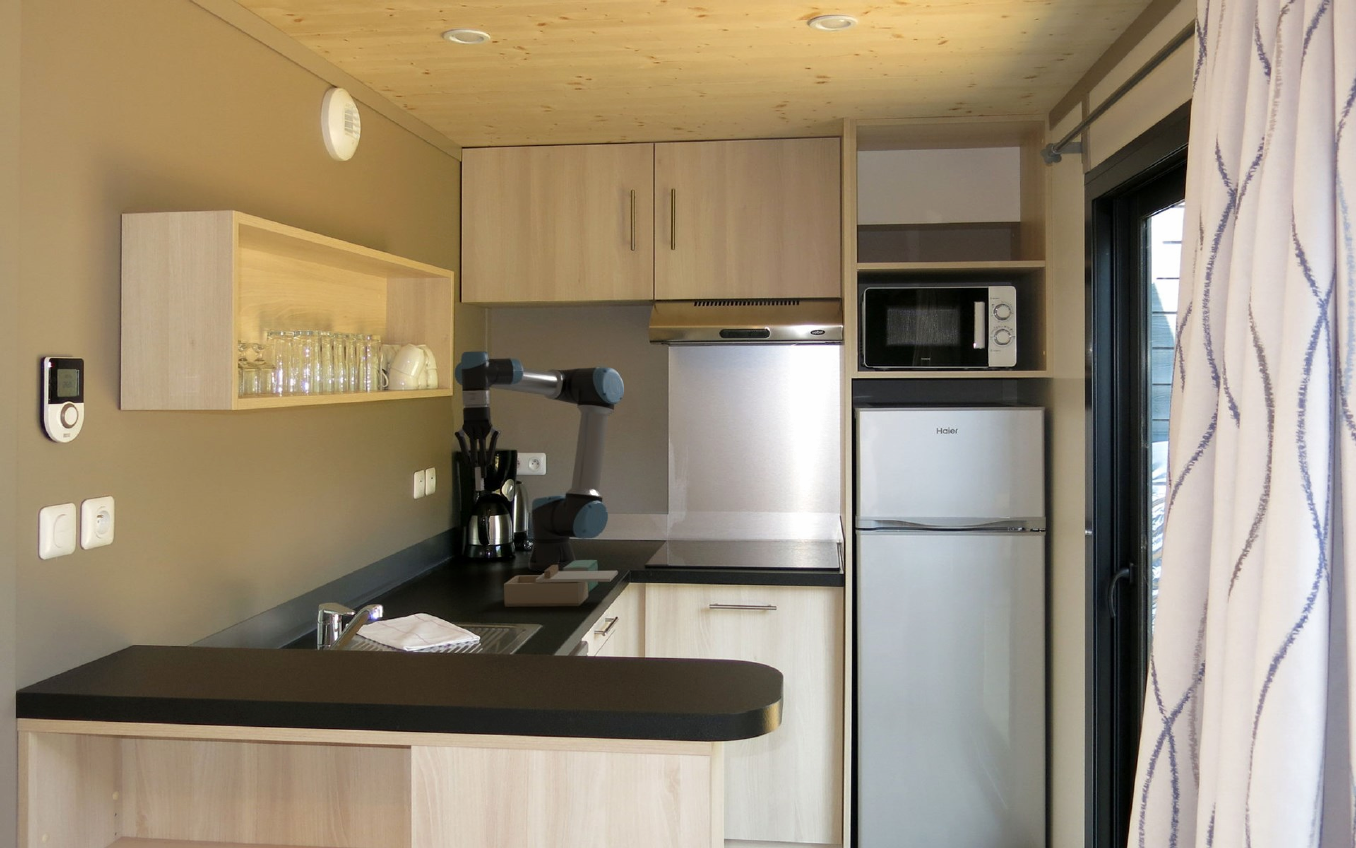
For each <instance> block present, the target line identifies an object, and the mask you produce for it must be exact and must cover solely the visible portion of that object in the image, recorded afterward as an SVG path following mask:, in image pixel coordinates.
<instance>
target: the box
mask: <svg viewBox="0 0 1356 848" xmlns="http://www.w3.org/2000/svg"><path fill="white" fill-rule="evenodd" d="M598 569H599V567H598V560H597V559H576V561H573V562H571V563H570V564H568V565H567V566H565V567H564V568H563V570H562V571H599V570H598ZM598 585H599V582H588V593H589V592H591V591H592V590H593V589H594V588H595V587H597V586H598Z"/></svg>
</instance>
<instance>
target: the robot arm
mask: <svg viewBox="0 0 1356 848" xmlns="http://www.w3.org/2000/svg"><path fill="white" fill-rule="evenodd" d="M454 378H455V380H456V382H457V383H458V384H459V385H461V387H462V391H461V392H462V393H461V394H462V406H464V407H463V409H462V415H463V416H462V417H463V418H462V419H463V423H462V427H461V429H460V430H458V431H455V432H454V436H455V437H456V439H457V440H458V443H459V447H460V448H459V449H460V451H461V455H462V458H463V463H464V465H465V466H469V467H471V477H472V479H475V491H477V492H479V491H480V492H481V491H484V490H485V487H484V486H485V482H484V481H485V480H484V479H486V478H487V475H488V474H487V467H488V466H490V465H492V464H493V462H494V459H495V453H496V448H497V443H498V438H499V437H500V436H501V433H502V432H501V430H498V429H497V428H495V427H493V424H492V419H491V417H492V416H491V408H490V404H491V397H490V395H491V394H490V393H491V392H490V389H496V390H505V391H511V392H520V393H525V394H527V393H528V394H534V395H541V396H544V397H545V398H547V399H548V400H555V401H559V402H564V403H569V404H573V405H577V407H576V408H577V409H578V411H579V412H580V420H579V426H578V427H579V428H578V435H577V442H576V443H577V444H576V448H575V449H576V450H575V457H574V465H573V466H574V467H573V472H572V473H573V474H572V480H571V481H572V482H571V487H570V489H568V490H567V491H566V492H565V494H559V495H557V494H556V495H550V496H544V497H537V498H534V499H533V500H532V502H531V503H532V504H531V522H532V523H531V524H532V538H533V539H532V541H533V544H532V548H531V552H530V555H529V559H528V569H529V570H530V571H534V572H544V571H545V570H546V569H548V568H549V567H550V566H552V565H558V571H563V568H564V567H565V566H567V565H568V564H570V563H571V562H573V561H576V560H577V559H576V556H575V553H574V551H573V550H574V549H573V547H572V545H571V541H570V539H571V538H576V539H577V538H578V539H582V540H585V539H594V538H596V537H599V535H600V534H602V533H603V532H604V530H605V528H606V527H607V525H608V521H609V520H608V519H609V512H608V510H607V506H606V505H605V504H604V503H603V500H604V499H603V495H602V494H601V493H600V483H601V473H602V468H603V461H604V459H603V458H604V450H605V443H606V435H607V428H608V421H609V417H610V415H612V414H613V413H614V410H615V405H616V404H619V402H620V401H621V400H622V399H623V396H624V393H625V386H624V380H623V379H622V377H621V376H620V373H619V372H618V371H616V370H615V369H614V368H612V367H605V366H598V367H596V366H595V367H582V368H581V367H580V368H572V369H571V368H570V369H555V368H554V369H549V370H547V371H545V370H540V369H539V370H538V369H532V368H527V367H523V364H522V363H521V361H520V360H518V359H517V358H510V357H507V358H490V357H489V353H488V352H487V351H483V350H479V351H478V350H477V351H476V350H474V351H464V352H462V353H461V359H460V362H459V363H458V364H457V365H456V367H454ZM465 434H466V435H465ZM489 434H490V436H491V437H490V441H489V446H488V451H487V437H488V436H489ZM465 436H467V437H468V438H469V446H470V447H468V444H467V440H466V438H465ZM478 444H479V445H478ZM469 448H470V450H469ZM478 450H479V451H478ZM478 453H479V459H478ZM478 460H479V462H478Z"/></svg>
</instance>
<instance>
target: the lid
mask: <svg viewBox="0 0 1356 848" xmlns="http://www.w3.org/2000/svg"><path fill="white" fill-rule="evenodd" d="M543 572H544V573H542V574H540V575H541V576H539V577H538V578H537V579H535V581H536V582H598V583H599V582H601V583H604V582H608V583H609V582H611V581H612V580H614V578H615V577H616V576H617V575H618V573H619V571H618V570H598V571H563V570H561V571H558V565H552V566H550V567H549V568H548V569H546V570H545V571H543Z"/></svg>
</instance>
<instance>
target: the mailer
mask: <svg viewBox="0 0 1356 848" xmlns="http://www.w3.org/2000/svg"><path fill="white" fill-rule="evenodd" d="M541 575H542V574H540V575H539V574H538V575H537V574H536V575H534V574H533V575H526V574H525V575H515V576H514V577H512V578H510V579H509V580H508V581H507V582H504V584H503V591H504V592H503V593H504V596H503V597H504V607H510V608H511V607H517V608H518V607H579V606H581V605H582V604H583V603H584V601H585V600H586V599H588V597H589V592H588V582H536V581H535V579H537V578H538V577H539V576H541Z"/></svg>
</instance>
